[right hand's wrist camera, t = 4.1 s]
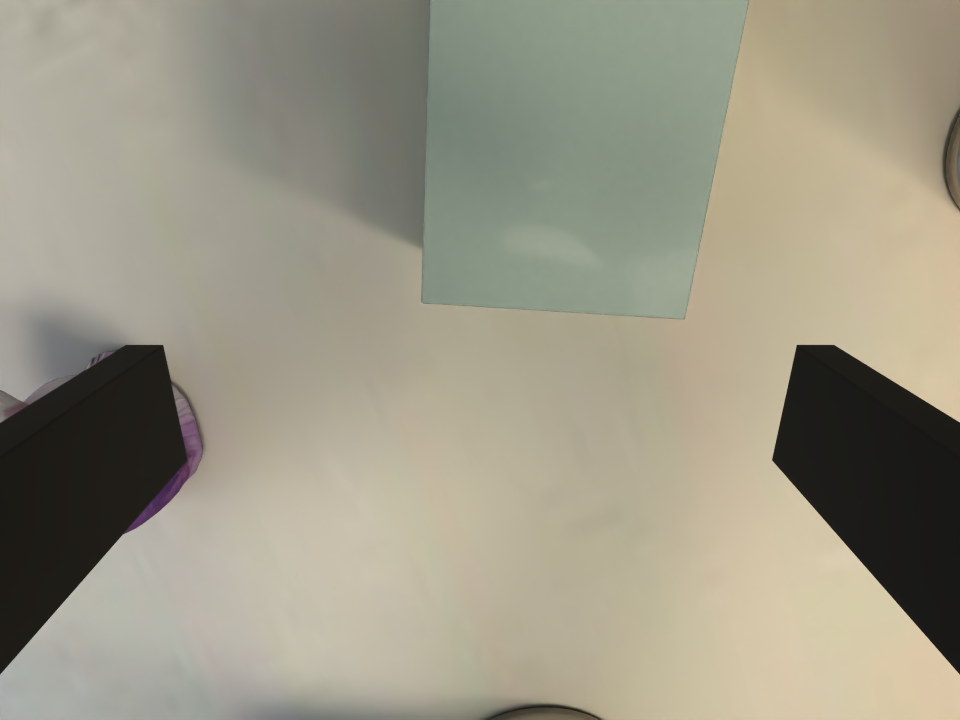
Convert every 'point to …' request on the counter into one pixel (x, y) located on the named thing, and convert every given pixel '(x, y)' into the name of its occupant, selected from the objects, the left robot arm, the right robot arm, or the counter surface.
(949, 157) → the left robot arm
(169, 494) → the figurine
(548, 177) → the cabinet
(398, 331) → the counter surface
